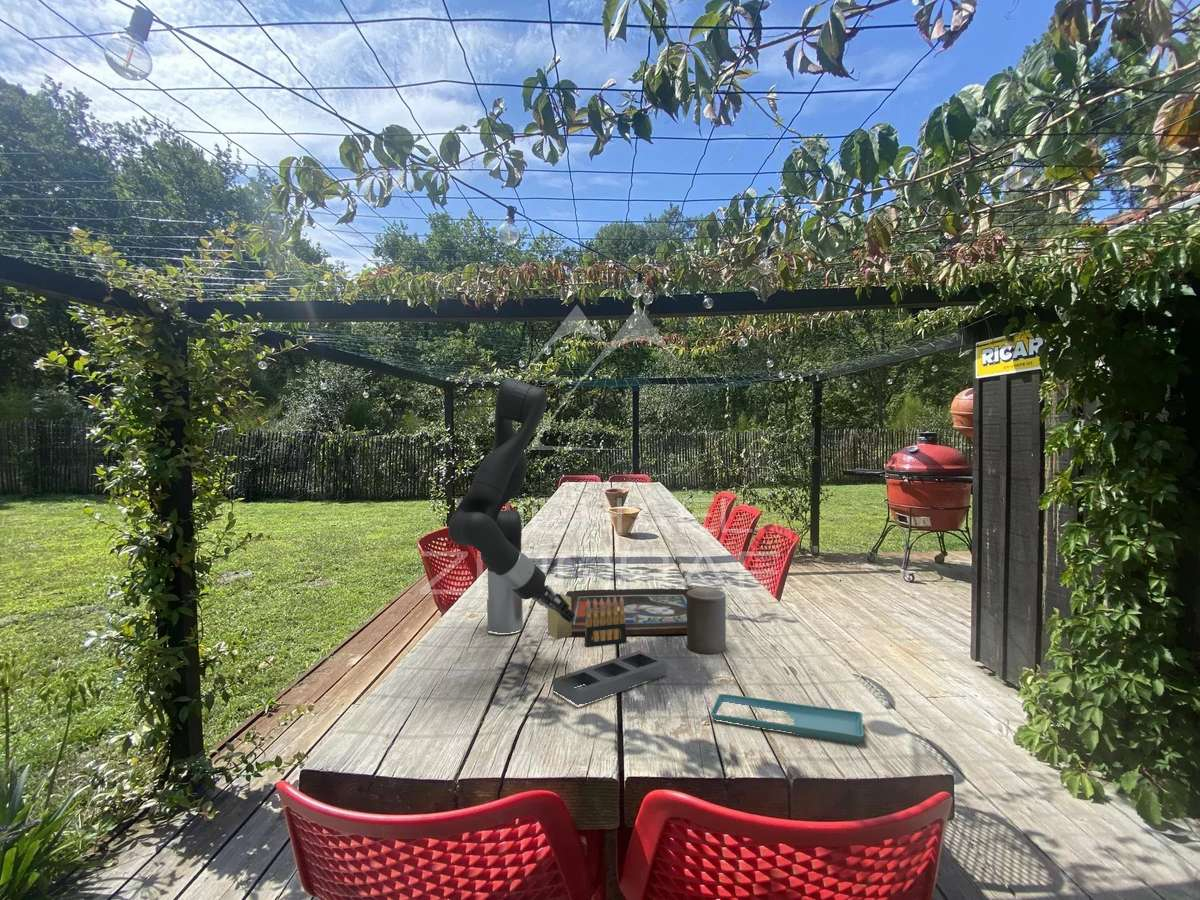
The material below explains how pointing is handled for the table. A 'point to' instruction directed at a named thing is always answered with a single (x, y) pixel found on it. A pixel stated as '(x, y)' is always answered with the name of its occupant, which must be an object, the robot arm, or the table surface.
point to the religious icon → (636, 609)
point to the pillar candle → (706, 621)
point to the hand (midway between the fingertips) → (566, 616)
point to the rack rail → (598, 674)
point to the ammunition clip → (605, 624)
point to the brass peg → (559, 622)
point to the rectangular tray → (800, 719)
